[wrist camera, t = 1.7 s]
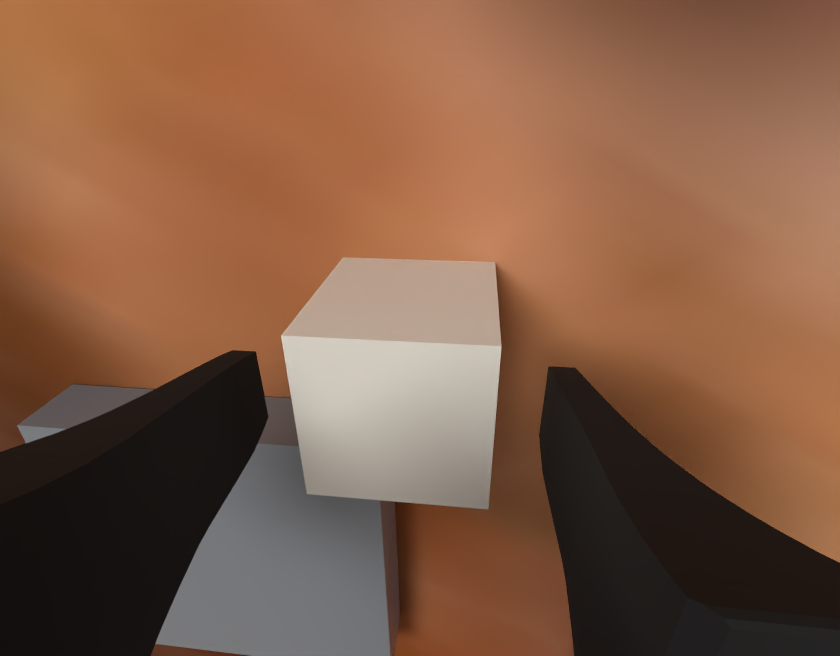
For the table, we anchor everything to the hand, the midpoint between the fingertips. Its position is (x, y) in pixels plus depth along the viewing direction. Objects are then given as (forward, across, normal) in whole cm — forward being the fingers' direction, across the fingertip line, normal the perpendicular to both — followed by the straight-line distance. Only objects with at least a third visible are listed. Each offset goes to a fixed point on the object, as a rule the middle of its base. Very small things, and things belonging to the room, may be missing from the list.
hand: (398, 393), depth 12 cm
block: (+4, 0, 0) cm, 4 cm away
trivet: (+4, +7, +9) cm, 12 cm away
